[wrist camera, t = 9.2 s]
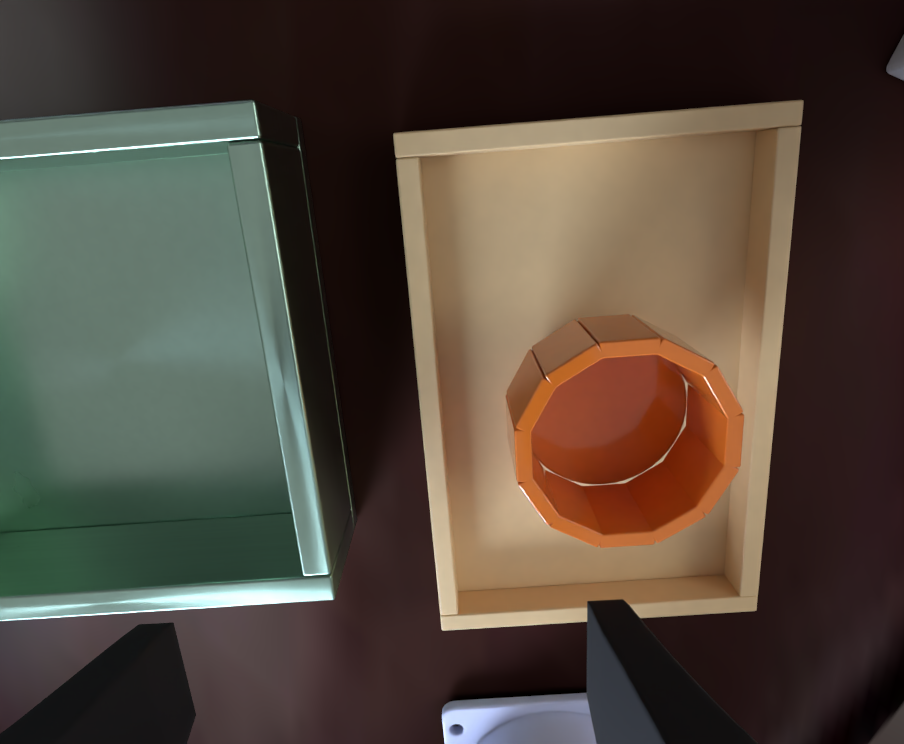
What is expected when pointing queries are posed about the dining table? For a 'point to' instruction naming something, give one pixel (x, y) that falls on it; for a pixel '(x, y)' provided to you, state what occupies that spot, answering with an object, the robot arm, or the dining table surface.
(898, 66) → the coffee box
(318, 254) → the basin
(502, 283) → the tray
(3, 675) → the dining table surface
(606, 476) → the bowl
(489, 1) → the dining table surface
